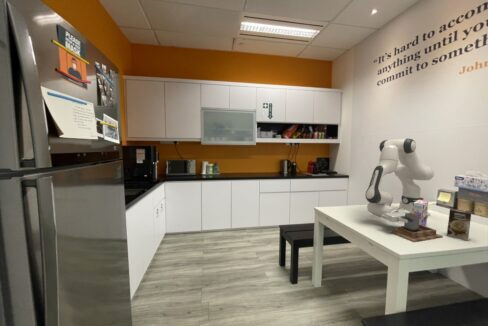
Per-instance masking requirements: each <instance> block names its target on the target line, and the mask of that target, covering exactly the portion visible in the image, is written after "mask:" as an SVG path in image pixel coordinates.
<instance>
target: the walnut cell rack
mask: <svg viewBox="0 0 488 326" xmlns="http://www.w3.org/2000/svg"><path fill="white" fill-rule="evenodd" d="M389 232H390V233H391V234H393V235H395V236H398V237H400V238H403V239H405V240H407V241H409V242H413V243H419V242H423V241H429V240H436V239H441V238H444V237H443V236H444V235H442V234H439V233H437V229H435V228H431V227H429V226H426V225H425V226H423V225H420V224H419V231H418V232H411V231H408V230H406V229H404V225H402V226H397V227H396V229H394V230H393V229H392V230H390V231H389Z"/></svg>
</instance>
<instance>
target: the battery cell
mask: <svg viewBox="0 0 488 326" xmlns="http://www.w3.org/2000/svg"><path fill="white" fill-rule="evenodd" d="M405 219H407V220H409V221H408V223H405V222H403V223H404V224H403V226H404V229H406V230H408V231H411V232H418V231H419V220H420V215H418V214H416V213H413V212H410V213H405Z"/></svg>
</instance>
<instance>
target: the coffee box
mask: <svg viewBox="0 0 488 326" xmlns="http://www.w3.org/2000/svg"><path fill="white" fill-rule="evenodd" d="M471 221H472V211H469V210H468V211H467V210H463V209H457V208H449V215H448V222H447V223H448V225H447V231H446V237H449V238H450V237H451V238H455V239H459V240H464V241H469V236H470V228H471Z"/></svg>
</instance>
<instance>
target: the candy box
mask: <svg viewBox="0 0 488 326" xmlns="http://www.w3.org/2000/svg"><path fill="white" fill-rule="evenodd" d="M428 209H429V201H427V200H418V201H416V202H414V203H413V211H412V212H413V213H416V214H418V215H420V221H419V224H420V225H423V226H426V225H427V221H428V216H427V213H429V212H428V211H429V210H428Z"/></svg>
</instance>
